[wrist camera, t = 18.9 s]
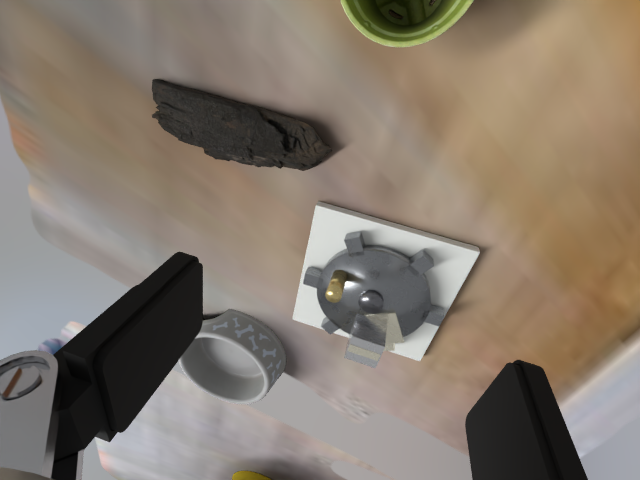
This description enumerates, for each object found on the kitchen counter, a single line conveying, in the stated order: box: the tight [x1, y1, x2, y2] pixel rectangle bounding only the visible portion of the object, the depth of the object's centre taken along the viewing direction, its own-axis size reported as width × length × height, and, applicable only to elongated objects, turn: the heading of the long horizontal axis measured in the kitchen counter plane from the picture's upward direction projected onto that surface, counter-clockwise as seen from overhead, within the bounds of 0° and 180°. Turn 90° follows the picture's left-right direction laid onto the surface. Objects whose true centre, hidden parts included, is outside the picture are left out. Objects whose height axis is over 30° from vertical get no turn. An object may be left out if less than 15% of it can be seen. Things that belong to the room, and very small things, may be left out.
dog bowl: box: [179, 309, 286, 404], centre depth 55 cm, size 17×18×5 cm
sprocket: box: [303, 231, 445, 351], centre depth 40 cm, size 18×17×6 cm
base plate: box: [293, 201, 480, 361], centre depth 43 cm, size 19×19×1 cm
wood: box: [152, 79, 332, 171], centre depth 37 cm, size 22×7×3 cm, turn 79°
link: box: [344, 313, 387, 368], centre depth 42 cm, size 4×4×4 cm
